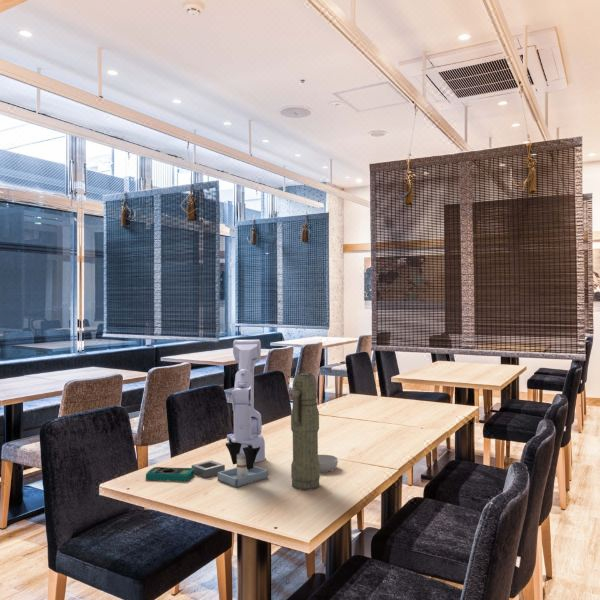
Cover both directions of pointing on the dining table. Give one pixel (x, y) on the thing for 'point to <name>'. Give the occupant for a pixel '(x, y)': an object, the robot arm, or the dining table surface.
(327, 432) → the dining table surface
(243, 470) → the cylinder
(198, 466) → the fuse block
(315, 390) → the thermos
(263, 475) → the parts tray
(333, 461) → the small pan
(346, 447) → the dining table surface
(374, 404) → the dining table surface
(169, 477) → the digital multimeter
